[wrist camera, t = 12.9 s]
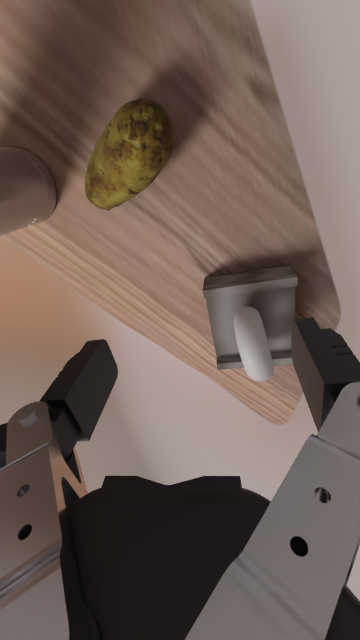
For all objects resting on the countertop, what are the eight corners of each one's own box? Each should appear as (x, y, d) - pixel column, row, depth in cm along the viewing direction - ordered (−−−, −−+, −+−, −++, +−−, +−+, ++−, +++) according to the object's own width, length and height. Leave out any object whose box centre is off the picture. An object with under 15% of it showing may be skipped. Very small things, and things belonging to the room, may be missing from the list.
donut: (229, 297, 38) (231, 337, 30) (253, 290, 37) (263, 330, 28) (247, 352, 42) (253, 400, 34) (269, 347, 41) (282, 396, 33)
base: (218, 352, 47) (217, 369, 43) (204, 277, 40) (202, 290, 36) (291, 345, 44) (297, 363, 40) (289, 264, 37) (297, 277, 34)
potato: (73, 144, 33) (35, 141, 27) (168, 95, 30) (152, 77, 23) (104, 211, 37) (78, 223, 30) (192, 175, 33) (185, 180, 27)
